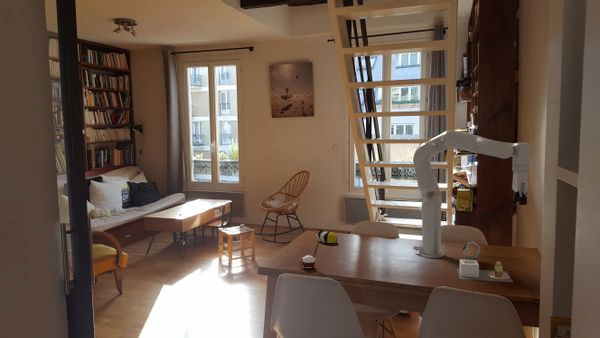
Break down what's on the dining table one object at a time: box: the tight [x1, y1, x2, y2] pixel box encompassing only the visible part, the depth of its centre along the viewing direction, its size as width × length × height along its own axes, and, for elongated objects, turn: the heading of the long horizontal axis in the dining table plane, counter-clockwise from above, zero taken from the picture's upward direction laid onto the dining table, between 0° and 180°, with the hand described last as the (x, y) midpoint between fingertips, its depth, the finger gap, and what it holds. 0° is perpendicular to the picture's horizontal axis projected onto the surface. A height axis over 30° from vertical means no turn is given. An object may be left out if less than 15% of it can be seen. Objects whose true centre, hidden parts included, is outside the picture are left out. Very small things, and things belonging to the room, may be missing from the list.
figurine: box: [315, 228, 338, 244], centre depth 254 cm, size 8×15×8 cm, turn 46°
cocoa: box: [299, 243, 319, 268], centre depth 206 cm, size 10×6×12 cm, turn 69°
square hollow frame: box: [459, 258, 480, 277], centre depth 187 cm, size 7×7×6 cm
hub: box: [487, 261, 511, 280], centre depth 184 cm, size 9×9×6 cm
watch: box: [461, 241, 481, 261], centre depth 205 cm, size 6×8×11 cm
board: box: [456, 268, 514, 283], centre depth 186 cm, size 21×14×6 cm, turn 74°
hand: (520, 203), depth 206 cm, fingers open, 9 cm apart
